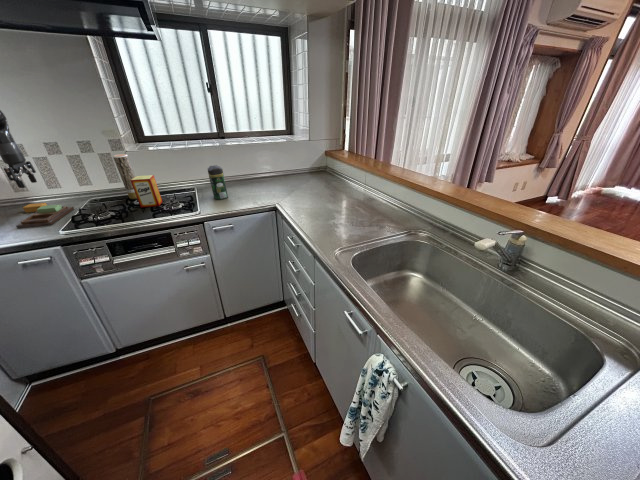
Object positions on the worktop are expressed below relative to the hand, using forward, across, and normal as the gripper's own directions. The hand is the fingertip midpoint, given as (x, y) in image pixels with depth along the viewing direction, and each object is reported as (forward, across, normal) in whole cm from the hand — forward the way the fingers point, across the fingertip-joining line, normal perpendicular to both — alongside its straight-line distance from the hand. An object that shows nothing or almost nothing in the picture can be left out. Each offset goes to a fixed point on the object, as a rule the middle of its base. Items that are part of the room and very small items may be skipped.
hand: (28, 185), depth 136 cm
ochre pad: (+16, -5, -6) cm, 18 cm away
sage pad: (+14, +4, +6) cm, 16 cm away
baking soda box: (+15, +2, +54) cm, 56 cm away
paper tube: (+15, -13, +41) cm, 45 cm away
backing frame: (+15, +8, +6) cm, 19 cm away
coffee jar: (+14, 0, +91) cm, 92 cm away
